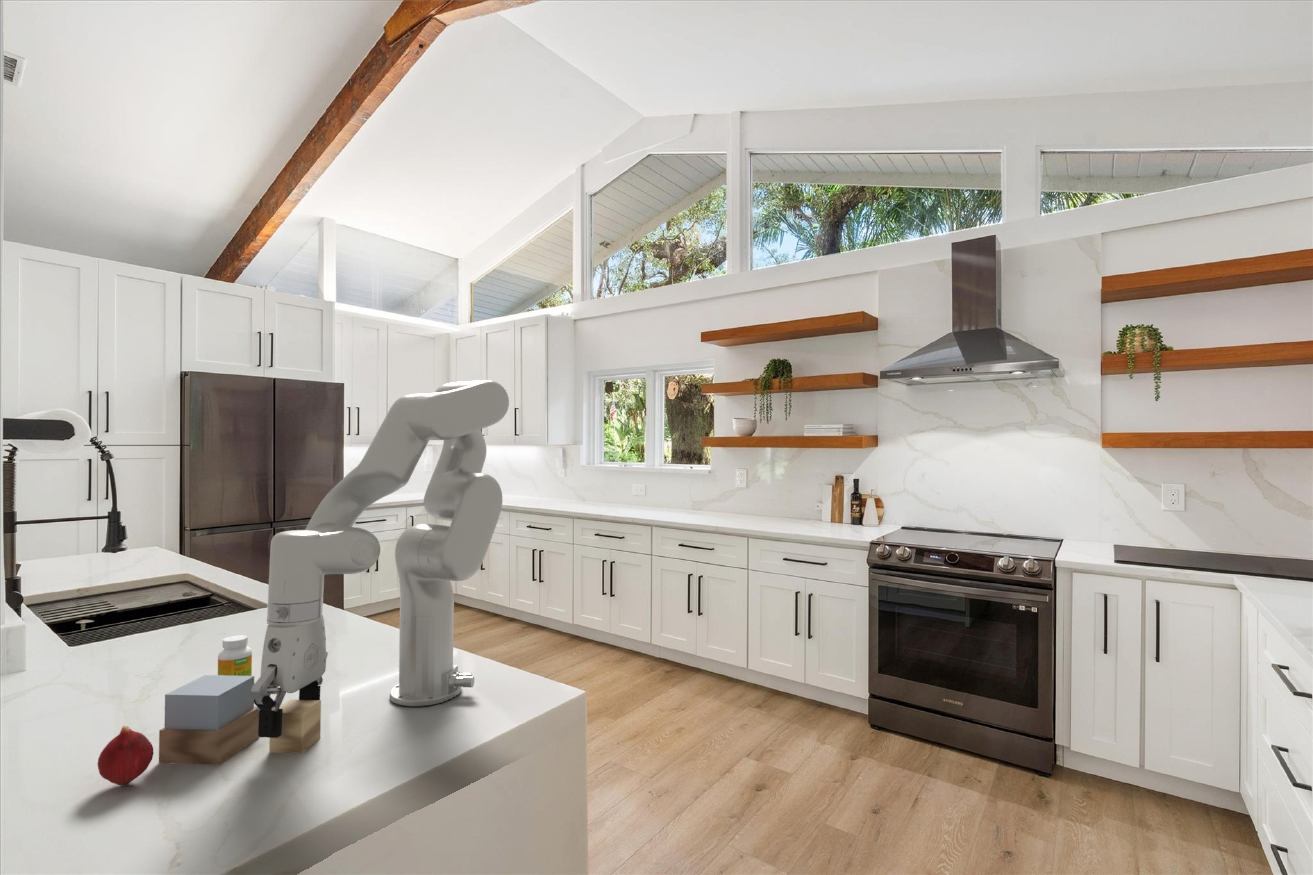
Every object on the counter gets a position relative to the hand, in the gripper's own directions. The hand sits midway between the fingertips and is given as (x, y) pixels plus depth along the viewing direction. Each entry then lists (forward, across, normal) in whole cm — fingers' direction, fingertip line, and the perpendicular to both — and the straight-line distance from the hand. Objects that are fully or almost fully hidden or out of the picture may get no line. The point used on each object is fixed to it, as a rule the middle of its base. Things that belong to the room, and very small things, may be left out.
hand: (290, 723), depth 99 cm
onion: (+4, -12, +15) cm, 20 cm away
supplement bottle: (+4, +22, +24) cm, 33 cm away
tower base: (+4, -1, +11) cm, 12 cm away
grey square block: (-1, -1, +12) cm, 12 cm away
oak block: (+4, +1, 0) cm, 4 cm away
